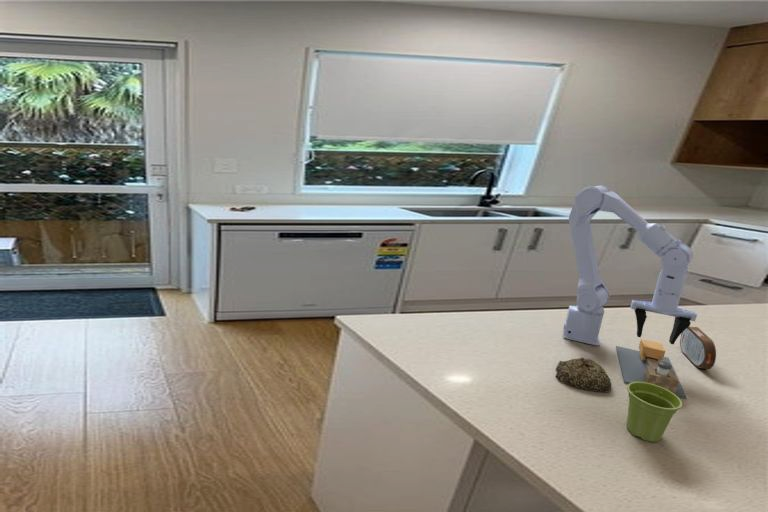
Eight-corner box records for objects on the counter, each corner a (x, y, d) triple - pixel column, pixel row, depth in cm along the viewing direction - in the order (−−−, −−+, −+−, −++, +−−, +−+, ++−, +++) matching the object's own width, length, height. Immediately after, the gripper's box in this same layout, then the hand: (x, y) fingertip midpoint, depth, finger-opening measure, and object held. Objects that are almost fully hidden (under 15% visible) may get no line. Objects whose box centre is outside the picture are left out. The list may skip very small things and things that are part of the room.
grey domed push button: (654, 380, 106) (659, 365, 105) (652, 375, 108) (657, 359, 107) (668, 384, 105) (672, 368, 104) (665, 378, 107) (670, 362, 106)
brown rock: (613, 398, 101) (618, 379, 100) (555, 385, 105) (560, 366, 103) (604, 371, 113) (608, 353, 112) (552, 360, 117) (556, 343, 115)
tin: (712, 375, 116) (721, 346, 114) (698, 373, 117) (708, 343, 114) (686, 349, 130) (694, 322, 128) (674, 347, 131) (682, 320, 128)
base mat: (624, 383, 108) (624, 381, 108) (615, 347, 127) (616, 345, 127) (686, 398, 104) (686, 396, 103) (668, 359, 122) (668, 357, 122)
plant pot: (607, 416, 94) (617, 380, 91) (649, 417, 95) (660, 381, 92) (635, 447, 85) (647, 408, 82) (681, 448, 86) (694, 409, 83)
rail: (651, 380, 109) (652, 375, 109) (641, 352, 124) (643, 348, 123) (662, 383, 108) (664, 377, 108) (651, 355, 123) (652, 350, 122)
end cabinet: (645, 387, 106) (649, 374, 105) (642, 377, 110) (646, 364, 109) (674, 394, 104) (679, 381, 103) (670, 384, 108) (674, 371, 107)
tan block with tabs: (640, 359, 119) (643, 346, 117) (637, 351, 123) (641, 338, 122) (661, 364, 117) (665, 351, 116) (657, 356, 121) (661, 343, 120)
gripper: (638, 289, 113) (626, 338, 117) (705, 302, 109) (690, 352, 112) (635, 282, 120) (623, 328, 124) (697, 293, 115) (683, 341, 119)
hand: (654, 339), depth 118 cm, fingers open, 7 cm apart
